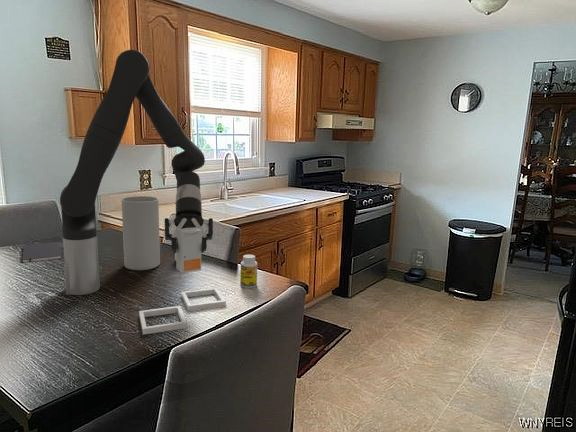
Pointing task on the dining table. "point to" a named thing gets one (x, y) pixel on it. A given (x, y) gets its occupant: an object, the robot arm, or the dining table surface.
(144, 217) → the cylinder vase
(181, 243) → the skincare box
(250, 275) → the supplement bottle
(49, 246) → the notebook
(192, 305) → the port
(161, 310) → the frame
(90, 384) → the dining table surface
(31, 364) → the dining table surface
